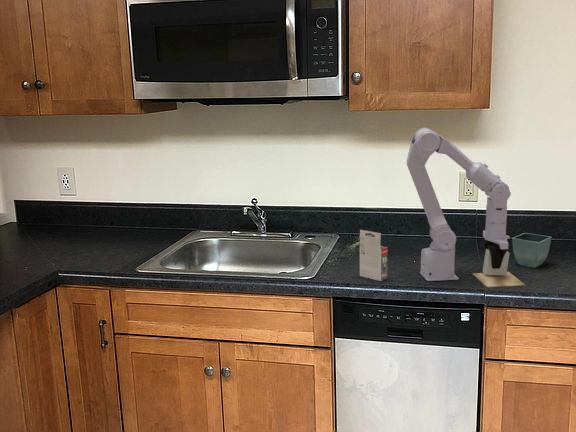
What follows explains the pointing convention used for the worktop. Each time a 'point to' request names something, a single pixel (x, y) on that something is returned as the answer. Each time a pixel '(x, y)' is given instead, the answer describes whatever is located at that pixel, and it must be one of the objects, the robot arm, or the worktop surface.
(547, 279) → the worktop surface
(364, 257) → the ink box
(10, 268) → the worktop surface
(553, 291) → the worktop surface
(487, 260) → the slab
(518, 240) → the flower pot
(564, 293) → the worktop surface
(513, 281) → the board
